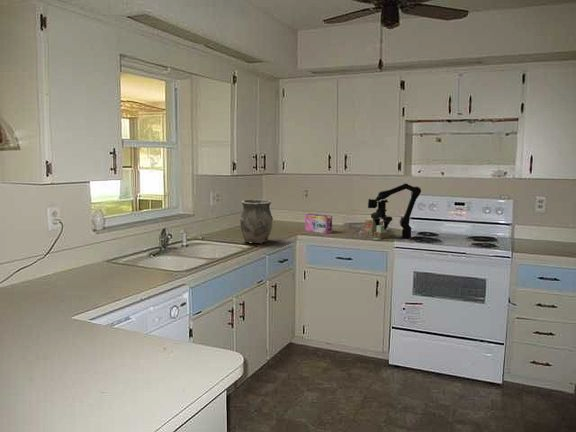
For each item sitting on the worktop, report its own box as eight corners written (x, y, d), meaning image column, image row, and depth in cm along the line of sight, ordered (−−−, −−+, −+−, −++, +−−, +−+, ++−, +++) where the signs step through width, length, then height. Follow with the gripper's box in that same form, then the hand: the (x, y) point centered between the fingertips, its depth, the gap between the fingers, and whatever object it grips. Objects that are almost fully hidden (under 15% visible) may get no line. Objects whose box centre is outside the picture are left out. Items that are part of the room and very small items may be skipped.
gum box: (333, 232, 381) (334, 216, 379) (327, 234, 375) (327, 217, 373) (310, 229, 397) (310, 213, 395) (304, 230, 391) (304, 214, 389)
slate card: (383, 240, 348) (383, 239, 348) (375, 240, 345) (375, 239, 345) (377, 238, 354) (377, 237, 354) (369, 239, 351) (369, 238, 351)
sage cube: (385, 232, 357) (386, 225, 357) (380, 232, 355) (380, 226, 354) (381, 231, 362) (381, 225, 361) (376, 232, 360) (376, 225, 359)
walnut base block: (388, 237, 357) (388, 232, 357) (380, 238, 354) (380, 233, 353) (382, 236, 364) (382, 231, 364) (373, 237, 361) (373, 231, 360)
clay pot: (236, 244, 331) (236, 201, 327) (245, 238, 353) (244, 198, 349) (268, 245, 327) (268, 202, 323) (275, 239, 349) (274, 199, 345)
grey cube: (391, 235, 369) (391, 229, 368) (386, 235, 367) (386, 229, 366) (387, 234, 373) (387, 228, 373) (382, 234, 371) (382, 228, 371)
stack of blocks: (375, 231, 389) (376, 216, 387) (383, 232, 385) (383, 216, 384) (364, 235, 371) (365, 219, 369) (372, 235, 367) (372, 220, 366)
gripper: (365, 207, 361) (365, 227, 363) (380, 210, 344) (380, 231, 346) (377, 206, 366) (376, 226, 368) (393, 209, 349) (392, 230, 351)
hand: (381, 228), depth 358 cm, fingers open, 9 cm apart
